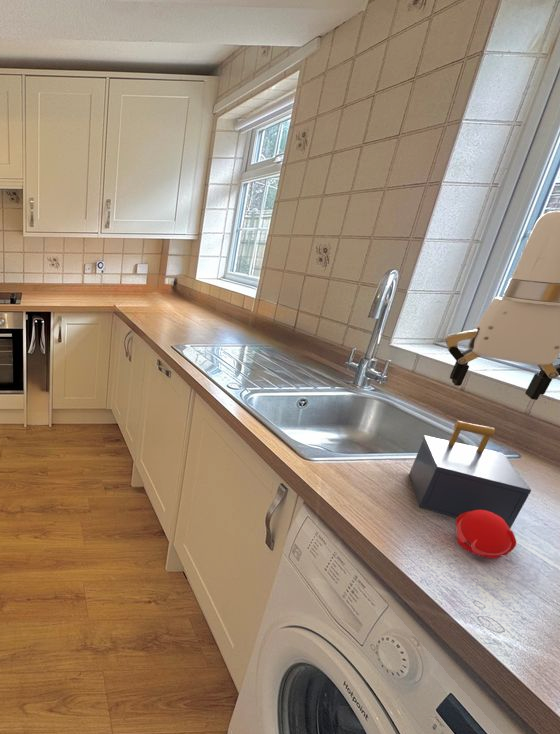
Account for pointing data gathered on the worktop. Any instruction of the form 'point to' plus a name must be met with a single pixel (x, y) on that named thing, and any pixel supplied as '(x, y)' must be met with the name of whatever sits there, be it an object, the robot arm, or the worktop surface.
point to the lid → (474, 459)
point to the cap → (484, 534)
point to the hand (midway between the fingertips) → (492, 390)
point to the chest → (461, 492)
